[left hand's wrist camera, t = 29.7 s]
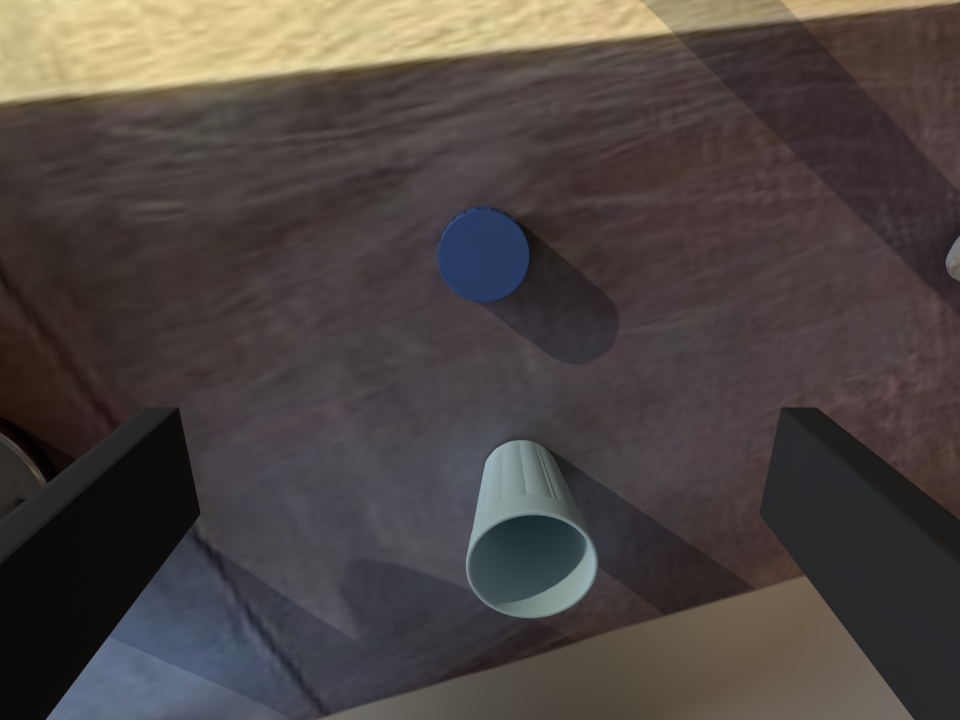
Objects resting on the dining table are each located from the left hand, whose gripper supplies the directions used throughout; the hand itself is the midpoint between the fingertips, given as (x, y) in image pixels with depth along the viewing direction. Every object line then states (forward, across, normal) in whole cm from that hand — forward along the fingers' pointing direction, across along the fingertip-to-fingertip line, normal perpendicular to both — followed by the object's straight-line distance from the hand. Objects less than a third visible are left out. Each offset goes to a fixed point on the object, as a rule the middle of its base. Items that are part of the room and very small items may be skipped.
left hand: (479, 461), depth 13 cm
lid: (+24, 0, 0) cm, 25 cm away
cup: (+26, +3, -16) cm, 31 cm away
